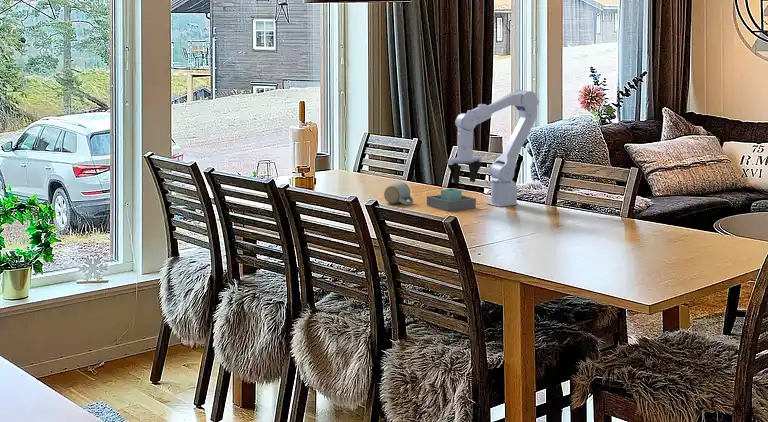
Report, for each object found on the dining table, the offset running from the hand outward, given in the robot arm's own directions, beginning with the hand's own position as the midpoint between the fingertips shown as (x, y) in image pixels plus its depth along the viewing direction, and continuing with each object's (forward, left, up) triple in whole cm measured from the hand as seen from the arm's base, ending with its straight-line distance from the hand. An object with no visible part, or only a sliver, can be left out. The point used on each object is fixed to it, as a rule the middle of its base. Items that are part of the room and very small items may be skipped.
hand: (464, 182), depth 351 cm
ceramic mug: (+16, -18, -9) cm, 26 cm away
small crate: (+4, -3, -8) cm, 10 cm away
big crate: (+4, -2, -9) cm, 10 cm away
